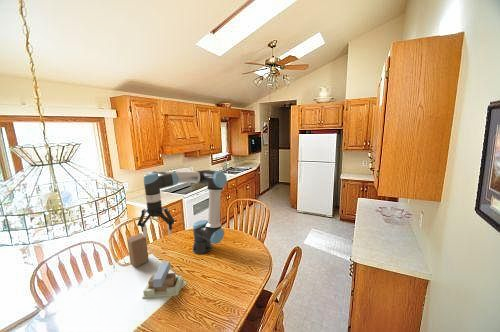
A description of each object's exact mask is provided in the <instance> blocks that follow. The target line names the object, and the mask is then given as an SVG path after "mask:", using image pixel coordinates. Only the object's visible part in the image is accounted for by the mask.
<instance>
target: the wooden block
mask: <svg viewBox="0 0 500 332" xmlns="http://www.w3.org/2000/svg"><path fill="white" fill-rule="evenodd" d="M126 242H127V249H128V254H129V255H128V256H129V261H130V263H131V265H132V266H133V267H134V268H138V267H139V266H142V265H144V264H146V263H148V262H149V261H150V259H149V253H148V251H149V250H148V244H147V237H146V238H144V233H140V232H139V233H137V234H134V235H131V236H129V237H127V239H126Z"/></svg>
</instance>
